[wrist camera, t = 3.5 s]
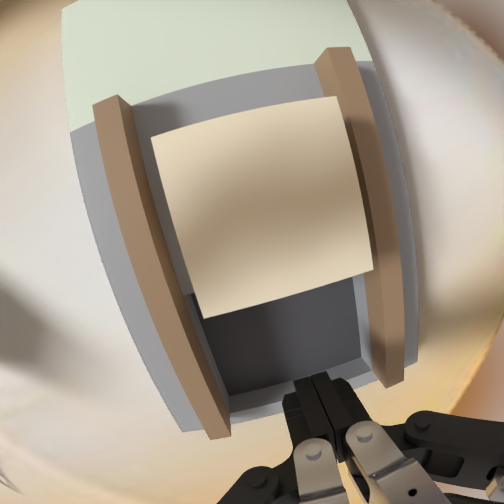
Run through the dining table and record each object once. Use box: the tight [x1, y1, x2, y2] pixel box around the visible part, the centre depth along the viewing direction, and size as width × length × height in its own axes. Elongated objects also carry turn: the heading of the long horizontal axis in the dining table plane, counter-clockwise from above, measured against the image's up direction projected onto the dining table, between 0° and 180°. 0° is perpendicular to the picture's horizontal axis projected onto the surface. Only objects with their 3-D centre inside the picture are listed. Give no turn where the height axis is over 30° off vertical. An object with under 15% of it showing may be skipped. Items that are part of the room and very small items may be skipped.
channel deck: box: [61, 0, 419, 440], centre depth 13 cm, size 28×16×4 cm, turn 14°
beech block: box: [151, 96, 373, 318], centre depth 11 cm, size 6×6×4 cm
